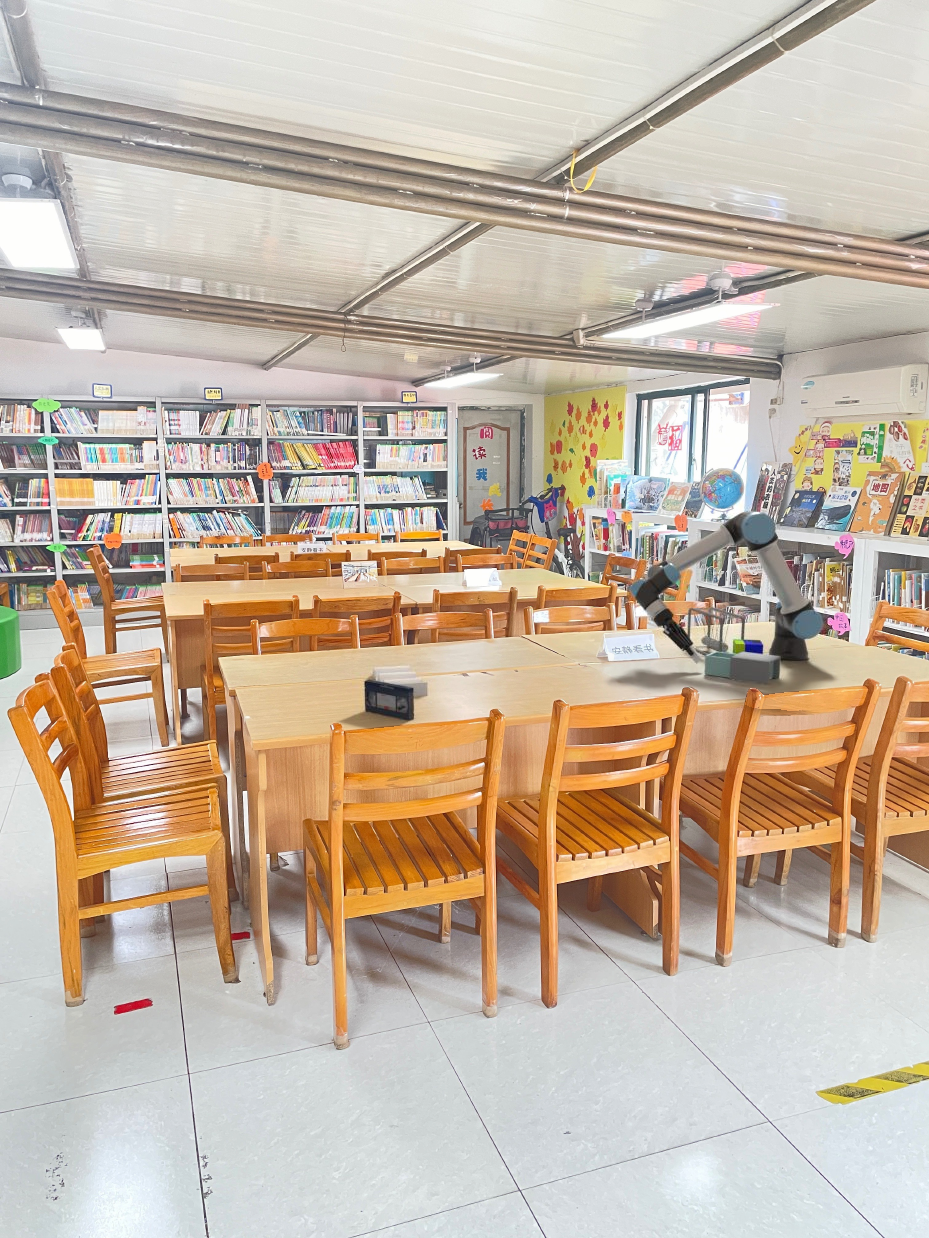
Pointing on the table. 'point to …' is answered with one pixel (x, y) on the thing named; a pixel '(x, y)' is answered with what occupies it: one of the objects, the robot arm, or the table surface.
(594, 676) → the table surface
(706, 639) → the newton's cradle
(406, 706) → the vhs cassette tape
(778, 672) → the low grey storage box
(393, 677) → the file organizer
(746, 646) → the puzzle toy
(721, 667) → the sliding matchbox
